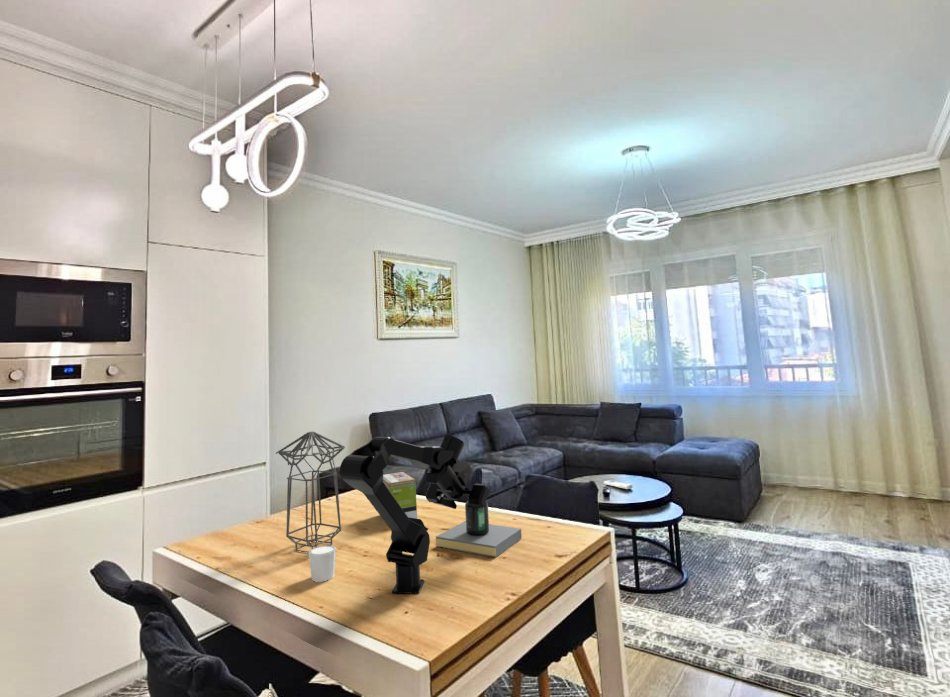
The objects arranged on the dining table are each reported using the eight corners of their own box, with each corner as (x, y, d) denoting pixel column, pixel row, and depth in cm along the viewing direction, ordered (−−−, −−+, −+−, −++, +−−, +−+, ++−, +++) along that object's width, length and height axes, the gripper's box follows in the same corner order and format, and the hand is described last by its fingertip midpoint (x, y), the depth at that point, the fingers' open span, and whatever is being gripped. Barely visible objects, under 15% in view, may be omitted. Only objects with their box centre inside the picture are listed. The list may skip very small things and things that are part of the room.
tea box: (379, 515, 179) (377, 474, 180) (405, 510, 184) (403, 471, 184) (390, 526, 166) (388, 482, 166) (418, 521, 170) (416, 478, 171)
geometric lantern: (316, 536, 159) (313, 428, 160) (352, 543, 151) (348, 428, 152) (275, 553, 145) (271, 434, 147) (311, 561, 137) (307, 436, 139)
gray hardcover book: (495, 557, 133) (494, 546, 133) (435, 547, 143) (435, 536, 144) (521, 538, 147) (521, 528, 147) (465, 530, 157) (465, 520, 157)
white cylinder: (327, 569, 130) (326, 543, 131) (342, 575, 126) (341, 548, 126) (303, 579, 125) (302, 551, 126) (319, 585, 121) (318, 556, 121)
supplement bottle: (487, 536, 142) (485, 494, 142) (464, 536, 143) (462, 494, 143) (490, 528, 148) (488, 488, 149) (468, 528, 149) (466, 489, 150)
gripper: (484, 455, 133) (505, 487, 142) (429, 452, 143) (452, 482, 152) (470, 491, 126) (493, 522, 135) (414, 485, 136) (438, 515, 145)
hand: (469, 509), depth 142 cm, fingers open, 9 cm apart
